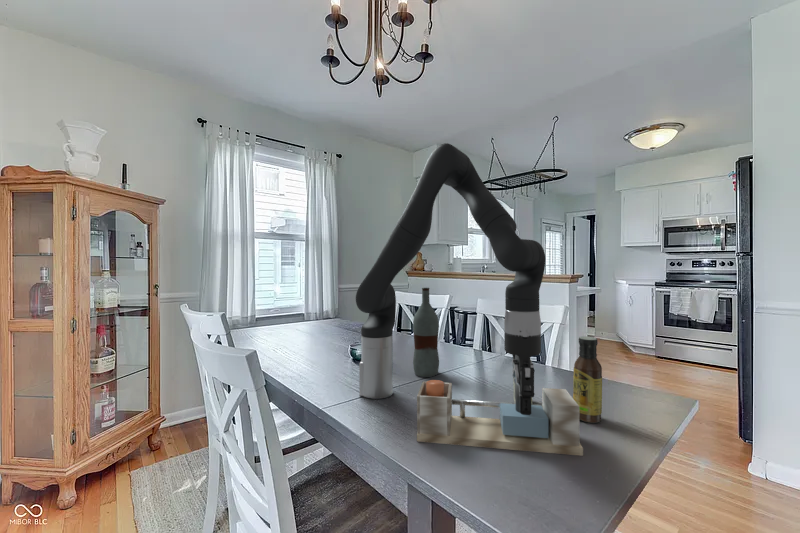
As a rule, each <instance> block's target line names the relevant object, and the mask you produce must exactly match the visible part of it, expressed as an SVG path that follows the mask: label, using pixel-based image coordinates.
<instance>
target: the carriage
mask: <svg viewBox="0 0 800 533" xmlns="http://www.w3.org/2000/svg"><path fill="white" fill-rule="evenodd" d="M524 390H529V387H528V386H527V385H525V386H524ZM515 401H516V404H507V403H508V402H505V403H500V408H499V419H500V423H501V427H502V432H503V435H514V436H526V437H539V438H548V417H547V415H546V413H545V412H544V410H543V408H542V406H539V405H540V404H536V405H531V414H530V415H522V414H521V413H520V395H519V386H518V385H517V384H516V382H515Z"/></svg>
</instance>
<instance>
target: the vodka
mask: <svg viewBox="0 0 800 533" xmlns="http://www.w3.org/2000/svg"><path fill="white" fill-rule="evenodd" d="M413 316H414V317H413V322H412V331H413V345H414V351H413V357H412V358H413V359H412V364H413V367H412V368H413V371H414V374H415V376H418V377H421V378H432V376H433V377H436V376H437V375H438V374H439V368H440V366H439V365H440V358H439V356H440V355H439V351H438V350H439V349H438V344H439V343H438V342H439V331H440V330H439V329H440V323H439V318H438V314H437V313H436V312H435V310H434V307H433V306H432V305H431V302H430V287H422V288H421V304H420V305H419V307H418V309H417V310H416V313H415V314H414V315H413ZM435 375H436V376H435Z"/></svg>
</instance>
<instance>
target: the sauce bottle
mask: <svg viewBox="0 0 800 533" xmlns="http://www.w3.org/2000/svg"><path fill="white" fill-rule="evenodd" d="M578 344H579V347H578V349H579V353H578V357H577V359H576V360H575V362H574V364H573V369H572V370H573V371H572V372H573V377H572V378H573V379H572V380H573V382H572V383H573V384H572V385H573V386H572V387H573V388H572V389H573V391H572V392H573V393H572V398H573V399H574V400H575V402H576V403H577V404H578V405H579V421H583V422H585V423H590V424H597V423H599V422H601V421H602V413H603V412H602V409H603V407H602V406H603V405H602V404H603V400H602V399H603V370H602V369H603V368H602V365H601V362H600V361H599V360H598V358H597V356H598V354H597V346H598V338H596V337H593V336H585V335H583V336H579V337H578Z"/></svg>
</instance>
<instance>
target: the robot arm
mask: <svg viewBox="0 0 800 533" xmlns="http://www.w3.org/2000/svg"><path fill="white" fill-rule="evenodd" d="M482 180H483V179H481V177H480V175H479V173H478V171H477V170H476V168H475V166H474V164H473V162H472V161H471V159H470V158H469V156H468V155H467V154H466V153H464V152H463V151H461V150H460V149H459V148H458V147H456V146H454V145H453V144H450V143H448V142H447V143H446V142H445V143H442V144H441V143H440V145H438V146H437V147H436V148H435V149H433V151H432V152H431V154H430V155H429V156H428V158H427V160H426V163H425V165H424V168H423V170H422V172H421V175H420V177H419V179H418V182H417V184H416V185H415V186H416V187H415V189H414V191H413V192H412V194H411V196H410V198H409V200H408V203H407V204H406V206H405V208H404V210H403V212H402V214H401V215H400V217H399V218H398V220H397V222H396V224H395V226H394V228H393V229H392V231H391V232H390V233H391V234H390V235H389V238H388V239H387V241H386V243H385V245H384V247H383V248H382V250H381V251H380V253H379V256H378V257H377V259H376V261H375V263H374V264H373V266H372V267H371V269H370V271H369V272H368V273H367V275H365V278H364V279H363V280H362V282H361V283H360V284H359V287H358V288H357V289H356V293H355V304H356V306H357V308H358V310H359V311H360V312H363V313H364V314H368V317H367V319H366V321H365V322H364V323H363V324H362V326H361V328H360V329H361V333H360V334H361V336H360V337H361V338H360V341H361V342H360V343H361V346H360V347H361V348H360V350H361V354H360V355H361V358H360V362H359V364H358V370H359V371H358V374H359V375H358V376H359V377H358V378H359V379H358V382H359V384H358V385H359V386H358V388H359V390H358V391H359V396H360V397H364V398H367V399H376V400H377V399H385V398H388V397H391V396H392V395H393V394H394V393H393V392H394V389H393V388H394V380H393V378H394V374H393V373H394V372H393V370H394V369H393V368H394V366H393V365H394V364H393V362H394V360H393V358H394V357H393V356H394V355H393V352H394V351H393V348H394V346H393V332H394V327H395V324H396V310H397V308H396V307H397V299H396V298H397V296H396V291H395V288H394V287H393V285H392V282H393V281H394V279H395V278H396V277H397V275H398V274H399V273H400V272H401V271H402V270H403V269H404V268H405V267H406V266H407V265H408V264H409V263H411V261H412V260H413V259H414V258H415V257H416V256H417V255H418V254H419V252H420V251H421V249H422V247H423V245H424V243H425V242H426V240H427V238H428V237H429V234H430V232H431V228H432V220H433V211H434V210H433V209H434V206H435V201H436V200H437V196H438V195H439V192H440V191H441V189H442V187H443V185H446V186H448V187H451V188H452V189H453V190H455V192H456V193H457V194H459V195H460V196H461V197H462V198H463V199H464V200H465V202H466V204H467V205H468V208H469V211H470V214H471V216H472V218H473V220H474V222H475V223H476V224H477V226H478V227H479V228H480V229H481V231H482V232H483V233H484V235H485V236H486V237H487V239H488V240H489V242H490V243H489V244H490V246H491V248H492V251H493V254H494V256H495V258H496V260H497V261H498V263H499V264H500V265H501V266H502V267H503V268H504V269H506V270H508V271H509V272H515V274H514V280H513V281H512V282H511V283H508V284H507V286H506V288H505V296H504V297H505V300H504V301H505V313H504V318H503V319H504V322H503V323H504V326H503V327H504V329H503V330H504V331H503V332H504V336H503V337H504V339H503V340H504V341H503V342H504V347H503V348H504V352H506V353H507V354H508V355H511V356H512V360H511V366H512V379H513V378H514V383H515V382H516V384H517V385H518V386H519V395H520V413H521V414H522V415H530V414H531V397H532V398H534V397H535V395H536V394H535V370H536V369H535V368H534V363H533V362H532V363H531V361H532V359H531V357H533V356H534V357H535V356H539V355H540V354H541V353H542V324H541V323H542V321H541V314H540V313H541V312H540V311H541V310H540V289H541V285H542V283H543V277H544V273H545V268H546V253H545V249H544V247H543V246H542V244H541V243H540V242H538V241H536V240H534V239H523V238H520V236H519V235H517V233H516V231H517V227H518V226H517V223H516V220H515V219H514V218H513V217H512V216H511V214H510V213H509V211H507V210H506V208H505V207H504V206H503V205H502V204H501V203H500V202H499V200H498V199H497V198H496V197H495V196H494V194H492V192H491V191H490V190H489V189H488V187H487V186H486V185H485V184H484V182H483V181H482ZM530 359H531V360H530ZM525 385H527V386H528V387H529V390H524V386H525Z"/></svg>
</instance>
